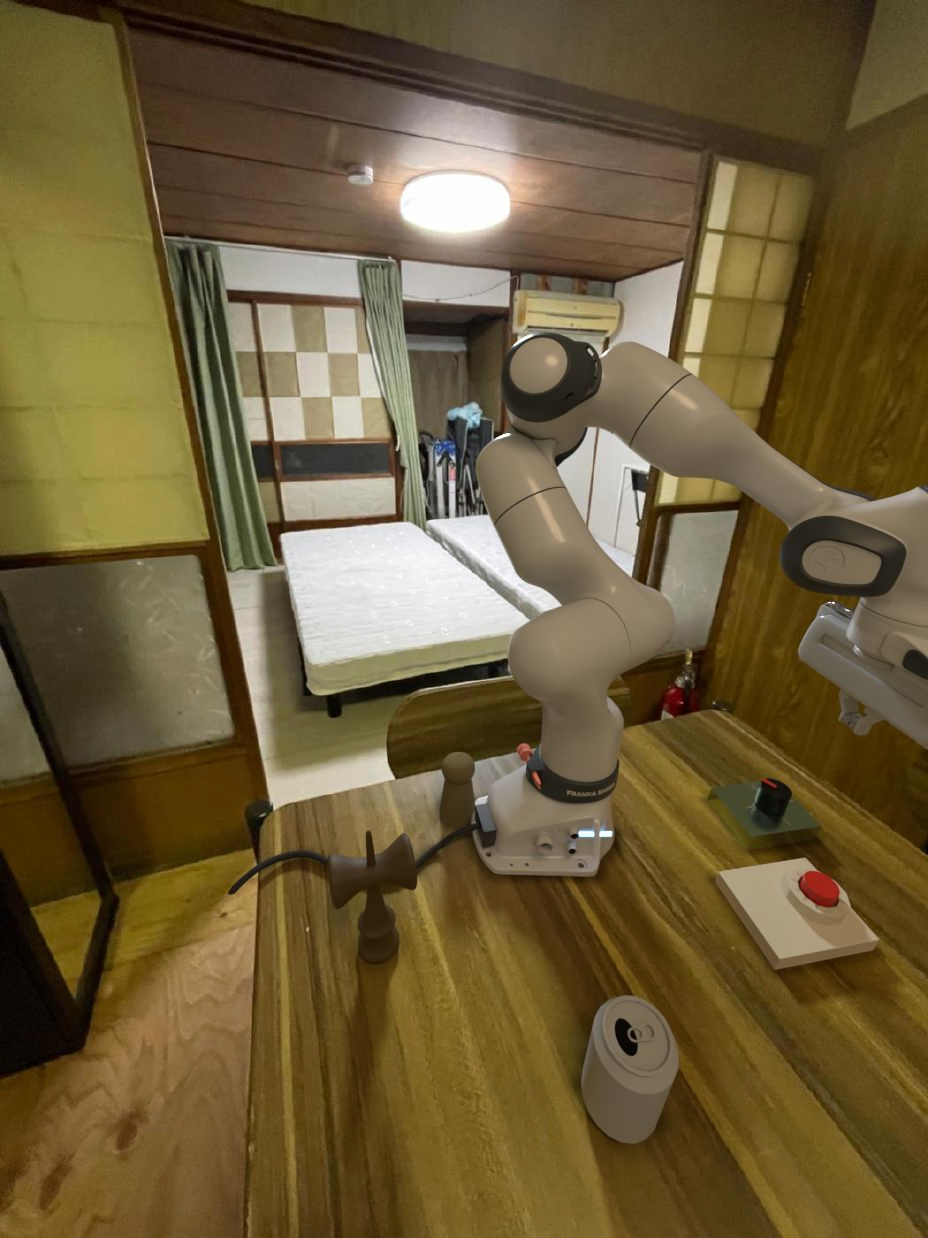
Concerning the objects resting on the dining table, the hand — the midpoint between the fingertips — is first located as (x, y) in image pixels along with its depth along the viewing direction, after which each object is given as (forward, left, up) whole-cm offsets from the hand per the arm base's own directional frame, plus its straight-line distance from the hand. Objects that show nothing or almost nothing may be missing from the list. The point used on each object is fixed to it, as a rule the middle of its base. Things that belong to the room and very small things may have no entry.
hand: (851, 728), depth 65 cm
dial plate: (0, +8, -24) cm, 26 cm away
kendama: (-61, -2, -25) cm, 66 cm away
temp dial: (+1, +8, -21) cm, 23 cm away
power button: (-4, -7, -21) cm, 22 cm away
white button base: (-7, -7, -24) cm, 26 cm away
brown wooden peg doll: (-48, +17, -25) cm, 57 cm away
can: (-38, -21, -25) cm, 50 cm away
